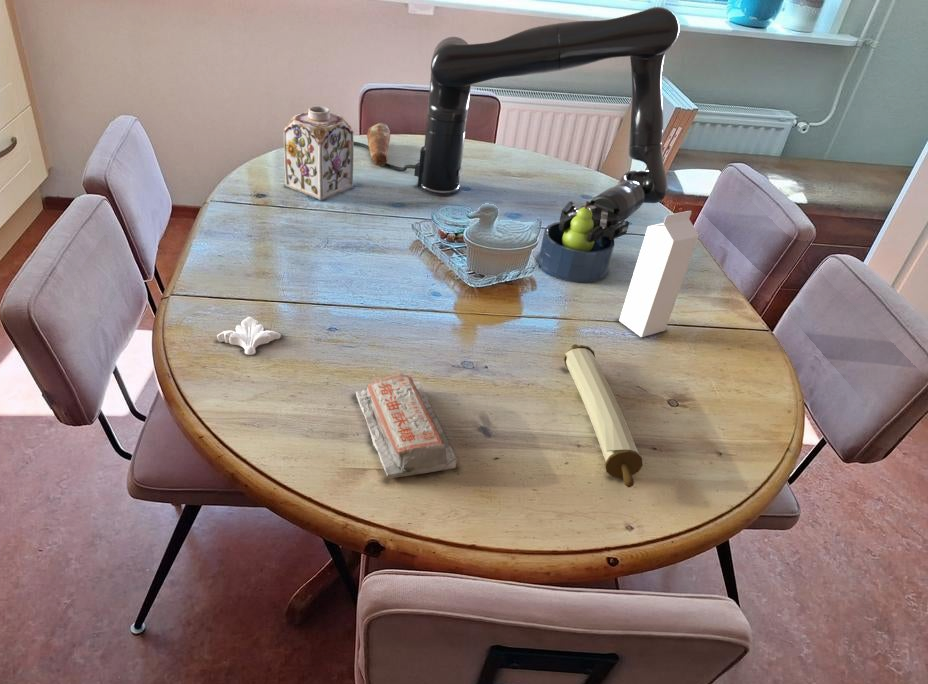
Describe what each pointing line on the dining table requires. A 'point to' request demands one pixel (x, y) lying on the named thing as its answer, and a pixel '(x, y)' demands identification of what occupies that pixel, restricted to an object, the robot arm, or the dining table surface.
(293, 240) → the dining table surface
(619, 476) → the rolling pin
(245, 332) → the acanthus leaf ornament
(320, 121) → the decorative jar
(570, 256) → the pot
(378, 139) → the bread
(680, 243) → the milk
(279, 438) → the dining table surface
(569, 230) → the pear
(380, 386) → the packaged product
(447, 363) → the dining table surface
